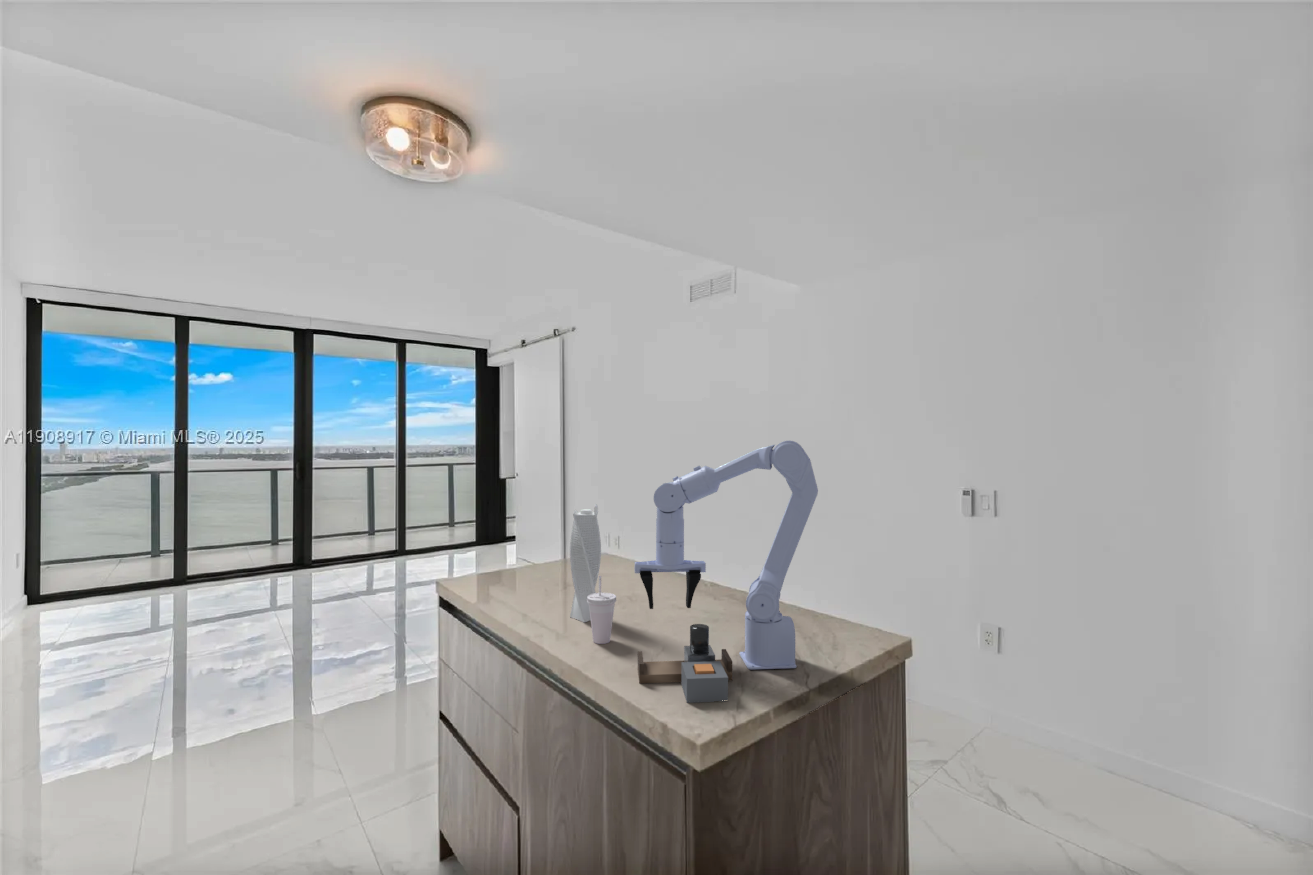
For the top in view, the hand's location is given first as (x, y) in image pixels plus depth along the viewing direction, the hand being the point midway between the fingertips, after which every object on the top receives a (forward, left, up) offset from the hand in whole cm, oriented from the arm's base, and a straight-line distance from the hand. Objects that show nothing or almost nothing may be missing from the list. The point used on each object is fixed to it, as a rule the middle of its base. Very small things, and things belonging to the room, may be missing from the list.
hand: (669, 607), depth 117 cm
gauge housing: (-4, +19, -9) cm, 21 cm away
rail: (-2, +11, -9) cm, 15 cm away
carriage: (-4, +11, -8) cm, 14 cm away
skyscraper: (+18, -24, -10) cm, 31 cm away
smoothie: (+14, -8, -10) cm, 19 cm away
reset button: (-4, +18, -9) cm, 21 cm away
